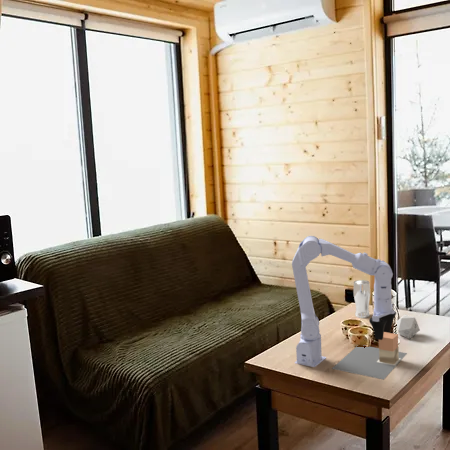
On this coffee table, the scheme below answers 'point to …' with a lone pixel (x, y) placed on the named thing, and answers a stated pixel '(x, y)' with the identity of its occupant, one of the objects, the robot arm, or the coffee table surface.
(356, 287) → the beer glass
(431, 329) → the coffee table surface
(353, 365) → the build mat
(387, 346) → the terracotta block
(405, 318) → the die
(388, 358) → the birch block
